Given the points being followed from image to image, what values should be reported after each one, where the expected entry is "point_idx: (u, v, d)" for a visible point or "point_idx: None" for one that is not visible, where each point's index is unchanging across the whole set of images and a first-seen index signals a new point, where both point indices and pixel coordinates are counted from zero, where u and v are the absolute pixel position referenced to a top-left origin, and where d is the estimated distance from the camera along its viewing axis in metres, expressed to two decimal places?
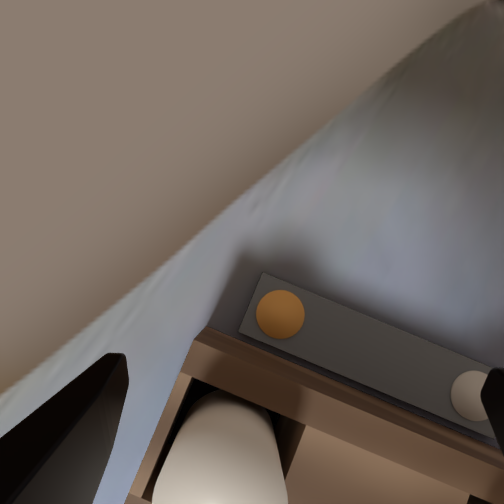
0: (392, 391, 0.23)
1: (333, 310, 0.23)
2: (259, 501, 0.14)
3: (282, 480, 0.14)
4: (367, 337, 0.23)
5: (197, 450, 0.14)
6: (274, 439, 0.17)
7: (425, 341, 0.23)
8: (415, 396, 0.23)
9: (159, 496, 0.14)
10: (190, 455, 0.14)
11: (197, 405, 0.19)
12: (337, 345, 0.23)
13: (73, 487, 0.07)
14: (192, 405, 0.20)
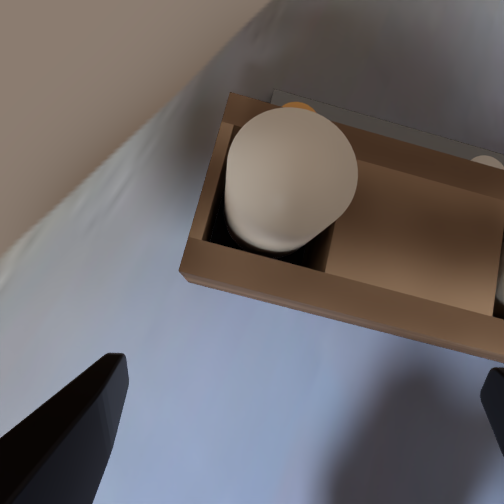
0: None
1: (345, 116, 0.25)
2: (329, 161, 0.14)
3: (347, 141, 0.14)
4: None
5: (263, 122, 0.14)
6: None
7: (433, 135, 0.25)
8: None
9: (233, 167, 0.14)
10: (257, 127, 0.14)
11: None
12: None
13: (73, 487, 0.07)
14: None
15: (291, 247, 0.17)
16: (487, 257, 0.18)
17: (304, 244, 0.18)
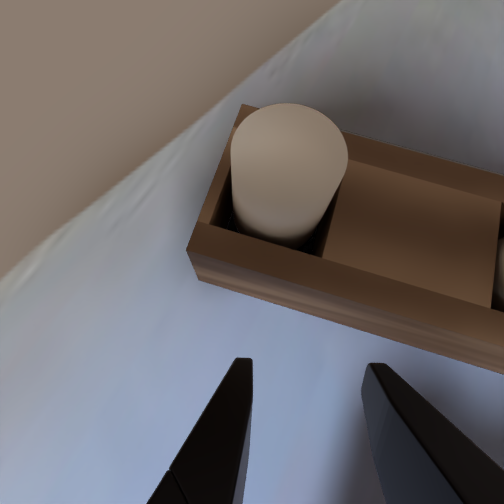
0: None
1: None
2: (322, 147, 0.16)
3: (339, 131, 0.16)
4: None
5: (264, 114, 0.17)
6: None
7: None
8: None
9: (236, 149, 0.16)
10: (259, 117, 0.16)
11: None
12: None
13: (240, 492, 0.07)
14: None
15: (290, 232, 0.18)
16: (483, 252, 0.19)
17: (304, 235, 0.19)
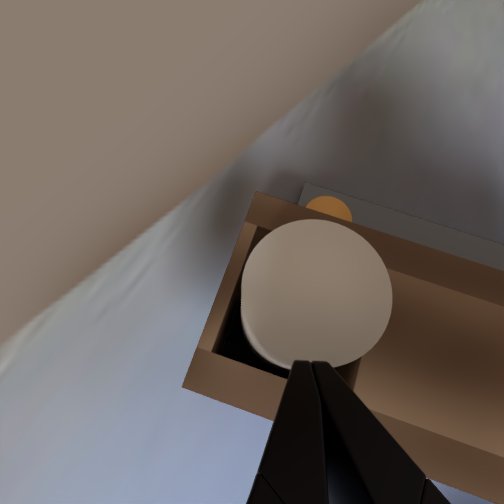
0: None
1: (379, 212, 0.23)
2: (359, 282, 0.12)
3: (381, 260, 0.13)
4: (418, 236, 0.23)
5: (285, 235, 0.13)
6: None
7: (477, 238, 0.23)
8: None
9: (249, 283, 0.12)
10: (279, 239, 0.13)
11: None
12: None
13: None
14: None
15: None
16: None
17: None
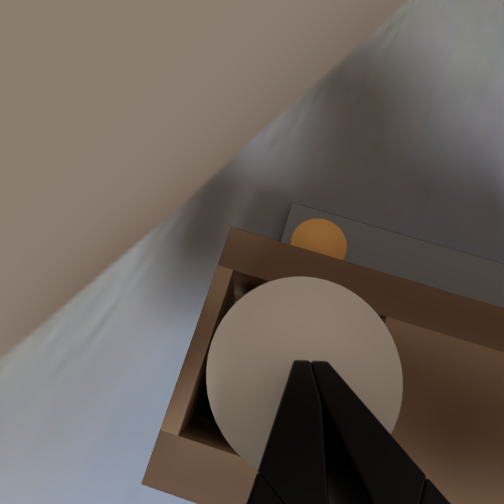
0: None
1: (378, 236, 0.20)
2: (359, 361, 0.10)
3: (386, 329, 0.10)
4: (422, 262, 0.20)
5: (263, 299, 0.10)
6: None
7: (489, 261, 0.20)
8: None
9: (216, 367, 0.10)
10: (254, 306, 0.10)
11: None
12: None
13: None
14: None
15: None
16: None
17: None
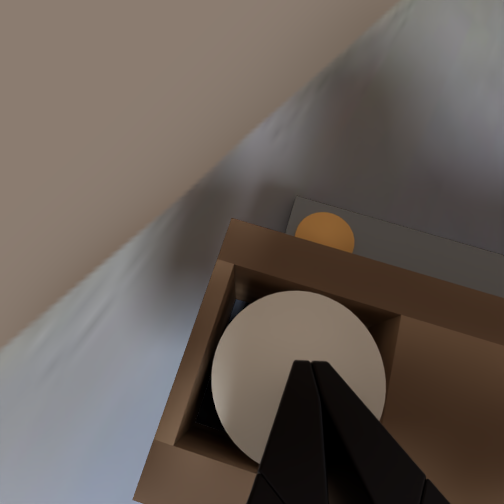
0: None
1: (387, 230, 0.19)
2: (348, 367, 0.11)
3: (371, 338, 0.11)
4: (435, 258, 0.19)
5: (262, 311, 0.11)
6: None
7: None
8: None
9: (220, 372, 0.11)
10: (254, 317, 0.11)
11: None
12: None
13: None
14: None
15: None
16: None
17: None
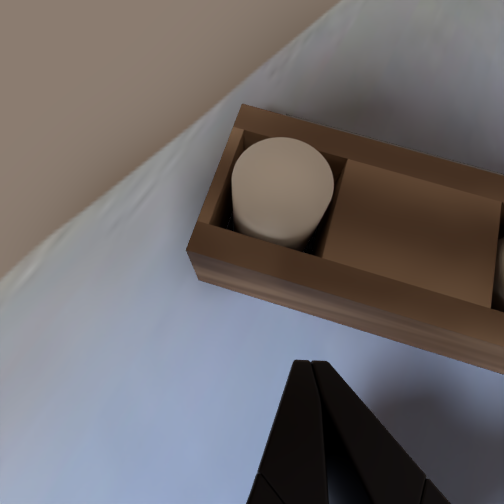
0: None
1: None
2: (311, 176, 0.18)
3: (326, 162, 0.19)
4: None
5: (261, 147, 0.19)
6: None
7: (435, 156, 0.27)
8: None
9: (236, 178, 0.18)
10: (256, 150, 0.19)
11: None
12: None
13: None
14: None
15: None
16: (483, 252, 0.19)
17: (297, 250, 0.22)
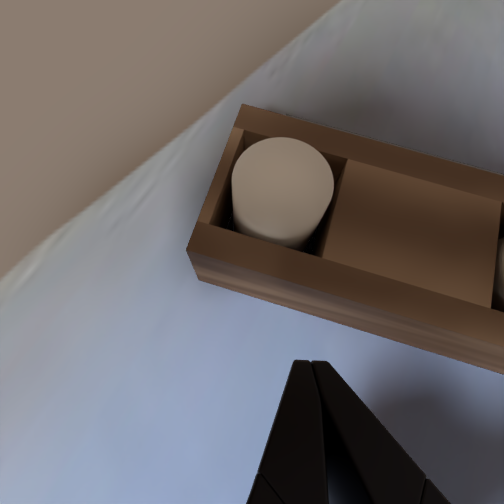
0: None
1: None
2: (311, 176, 0.18)
3: (326, 162, 0.19)
4: None
5: (261, 147, 0.19)
6: None
7: (435, 156, 0.27)
8: None
9: (236, 178, 0.18)
10: (256, 150, 0.19)
11: None
12: None
13: None
14: None
15: None
16: (483, 252, 0.19)
17: (297, 250, 0.22)
